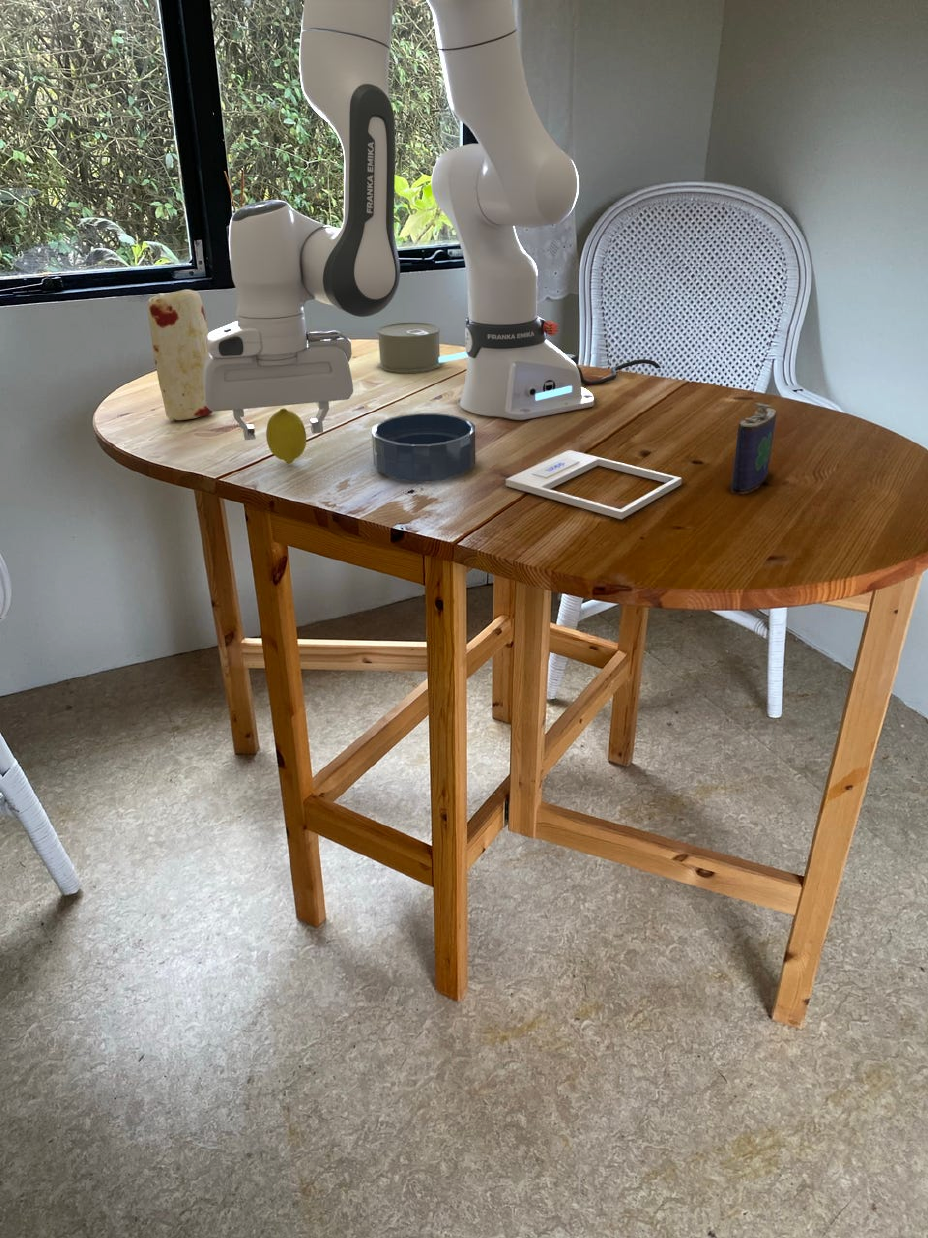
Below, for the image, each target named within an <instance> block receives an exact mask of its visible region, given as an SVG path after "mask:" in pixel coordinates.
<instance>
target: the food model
mask: <svg viewBox="0 0 928 1238" xmlns="http://www.w3.org/2000/svg"><path fill="white" fill-rule="evenodd" d="M203 304H204V303H203V301H202V298H201V295H200V293H199V292H198V291H196V290H193V289H182V290H176V291H173V292H170V293H167V294H165V293H158V294H157V295H154V296H151V297H150V298H149V299H148V301H147V312H148V322H149V330H150V337H151V338H150V339H151V345H152V353H153V360H154V364H155V368H156V374H157V380H158V385H159V388H160V393H161V397H162V401H163V407H164V412H165V415H166V417H167V418H168V420H170V421H171V420H176V421H184V420H185V421H186V420H191V419H196V418H200V417H204V416H208V415H209V416H210V415H211V414H212V413H213V412H212V411H211V410H209V409H208V408H207V407H206V405H205V401H204V394H203V363H204V359H205V357H206V355H207V354H208V353H209V352H208V350H207V346H206V336H207V334H208V333H210V332H209V326H208V323H207V319H206V314H205V309H204V305H203Z"/></svg>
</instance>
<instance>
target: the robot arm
mask: <svg viewBox="0 0 928 1238" xmlns="http://www.w3.org/2000/svg"><path fill="white" fill-rule="evenodd" d="M303 1H304V2H303V10H302V17H301V28H300V39H299V55H298V57H299V61H298V63H299V74H300V76H299V77H300V86H301V90H302V92H303V94H304V96H305V98H306V100H307V102H308V103H309V105H310V106H311V108H312V109H313V110H314V111H315V112H316V113H317V115H319V117H320V118H322V119H323V120H324V121H326V122H327V123H328V124H329V125H330V127H331V128H332V129H333V131H334V132H335V133H336V135H337V137H338V139H339V141H340V144H341V147H342V151H343V157H344V179H343V180H344V183H343V184H344V185H343V186H344V187H343V188H344V189H343V191H344V192H343V195H344V196H343V200H344V201H343V222H342V226H341V228H340V227H338V226H337V227H336V226H331V225H329V224H326V223H322V222H320V221H317V220H315V219H312V218H311V217H308V216H306V215H304V214H302V213H301V212H299V211H297V210H296V209H294V208H293V207H292V206H290V204H289V203H288V202H287V201H284V200H280V199H279V200H278V199H270V200H264V201H256V202H253V203H252V202H251V203H250V204H246V205H244V206H241V207H239V209H237V210H236V211H235V212H233V214H232V216H231V219H230V223H229V235H228V241H229V242H228V245H229V246H228V247H229V260H230V271H231V279H232V282H233V285H234V287H235V289H236V295H237V304H236V310H235V311H236V319H237V320H236V321H233V322H232V323H229V324H227V325H224V326H222V327H219V328H216V329H214V330H212V331H210V332H209V333H208V334H207V336H206V346H207V350H208V352H209V353H208V354H207V355H206V357H205V359H204V363H203V394H204V401H205V405H206V407H207V408H208V409H209V410H211V411H212V413H218V412H228V411H232V416H233V418H234V420H235V421H236V423H238V425H239V426H240V428H241V429H242V432H243V433H242V434H243V439H244V441H255V440H256V439H257V437H256V434H255V433H256V431H255V426H254V424H252V423H251V424H248V423H246V421H245V420H244V417H245V411H244V410H249V409H250V410H251V409H260V408H273V407H282V406H294V405H303V404H314V403H316V406H317V407H318V412H317V413H316V415H315V417H314V418H310V419H309V423H310V431H311V433H312V434H314V435H315V434H324V425H323V424H324V423H323V422H324V419H325V418H326V416H327V414H328V413H329V410H330V402H336V401H346V400H347V401H348V400H349V399H350V398H351V397H352V395H353V394H354V385H353V377H352V372H351V368H350V363H349V362H350V361H351V358H352V354H353V353H352V343H351V340H350V338H349V337H348V336H347V335H346V334H344V333H340V331H339V330H329V331H312V332H311V331H310V332H309V331H308V332H307V324H306V313H305V304H306V302H307V301H311V300H315V301H318V302H320V303H322V304H325V305H330V306H332V307H335V308H338V309H339V310H342V311H343V312H345V313H347V314H349V315H352V316H355V317H358V318H359V317H360V318H365V317H371V316H374V315H376V314H378V313H380V312H381V311H382V310H384V309H385V308H386V307H387V306H388V305H389V304H390V303H391V301H392V300H393V298H394V296H395V295H396V292H397V290H398V287H399V284H400V279H401V263H400V256H399V252H398V248H397V247H398V246H397V242H396V235H395V234H396V233H395V190H396V189H395V185H396V181H395V180H396V123H395V115H394V110H393V106H392V103H391V98H390V87H389V85H390V84H389V72H390V56H391V46H392V35H393V33H392V32H393V15H394V12H395V9H396V6H397V4H398V2H399V0H303ZM426 2H427V4H428V6H429V7H430V10H431V13H432V16H433V17H432V18H433V25H434V34H435V38H436V44H437V45H436V46H437V49H438V54H439V55H438V56H439V60H440V65H441V71H442V75H443V79H444V84H445V90H446V96H447V100H448V104H449V107H450V109H451V111H452V113H453V114H454V115H455V117H456V118H457V119H458V120H460V121H461V122H462V124H464V125H465V126H466V127H467V128H468V129H469V130H470V132H471V133H472V134H473V136H474V137H475V140H476V142H477V143H468V144H464V145H461V146H457V147H453V148H451V149H448V150H446V151H445V152H443V153H442V154H441V155H440V157H438V159H437V161H436V162H435V164H434V167H433V170H432V175H431V192H432V196H433V199H434V201H435V203H436V205H437V207H438V208H439V209H440V210H441V211H442V213H443V214H444V215H445V217H447V219H448V220H449V222H450V224H451V226H452V228H453V230H454V233H455V234H456V238H457V240H458V243H459V246H460V249H461V253H462V256H463V260H464V265H465V272H466V290H467V317H466V318H465V330H464V343H465V344H464V347H465V351H462V352H458V353H452V354H447V355H442V356H440V357H439V363H440V364H441V363H445V362H451V361H456V360H461V359H465V358H466V359H467V360H466V368H465V369H466V370H465V377H464V385H463V389H462V394H461V397H460V400H459V406H460V408H461V409H463V410H464V411H467V412H469V413H472V414H476V415H481V416H488V417H499V418H505V419H509V420H514V421H524V420H529V419H535V418H540V417H545V416H550V415H556V414H561V413H566V412H572V411H577V410H582V409H587V408H591V407H594V405H595V397H594V395H593V393H592V392H590V391H589V390H588V389H586V388H584V387H583V386H582V385H585V386H598V385H603V384H606V383H608V382H611V381H613V380H616V379H617V375H618V374H617V371H620V370H623V369H626V368H628V367H632V366H635V365H642V364H644V365H645V364H646V365H650V366H653V368H655V369H661V368H662V367H661V365H660V364H659V363H658V362H656V361H655V360H652V359H648V358H641V359H639V358H638V359H635V360H630V361H627V362H624V363H622V364H618V365H615V366H613V367H612V368H611V371H610V373H611V375H609V376H606V377H603V378H601V379H597V380H587V379H585V378H584V375H583V371H582V369H581V367H580V366H579V363H578V362H579V361H578V360H579V356H578V355H576V354H570V353H564V352H563V351H562V350H561V349H559V348H558V347H556V346H555V345H554V344H553V343H552V342H550V341H549V340H548V337H547V336H552V337H553V336H555V335H557V333H558V332H559V325H558V324H557V323H556V322H553V321H552V320H545V319H544V318H541V317H540V316H538V278H539V277H538V276H539V273H538V268H537V264H536V262H535V260H533V258H532V257H531V256H530V255H529V254H528V253H527V252H526V250H525V249H524V248H523V247H522V245H521V243H520V241H519V238H518V235H517V231H516V228H515V227H518V228H527V229H534V228H540V227H541V228H542V227H547V226H552V225H557V224H560V223H561V222H563V221H565V220H566V219H567V218H568V217H569V215H570V214H571V212H572V211H573V209H574V208H575V205H576V202H577V199H578V197H579V190H580V189H579V188H580V180H579V174H578V170H577V168H576V164H575V163H574V161H573V159H572V158H571V156H569V155H568V153H566V152H564V150H562V149H561V148H560V147H559V146H558V145H557V144H556V142H554V140H553V139H552V137H551V136H550V135H549V133H548V131H547V130H546V128H545V127H544V125H543V123H542V121H541V119H540V117H539V115H538V113H537V111H536V108H535V106H534V104H533V100H532V98H531V95H530V93H529V88H528V85H527V80H526V74H525V70H524V64H523V58H522V53H521V52H522V51H521V47H520V39H519V33H518V27H517V20H516V15H515V10H514V9H515V8H514V5H513V1H512V0H426Z"/></svg>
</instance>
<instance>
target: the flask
mask: <svg viewBox="0 0 928 1238" xmlns="http://www.w3.org/2000/svg"><path fill="white" fill-rule="evenodd" d="M754 405H755V406H756V407H757V409H756V410H755V411H754V414H753V416H752V415H751V416H750V417H747V416H746V417H745V418H744V419H743V420H741V421H739V423H738V427H737V436H736V442H735V443H736V445H735V454H734V460H733V461H734V462H733V471H732V479H731V486H730V491H731V492H732V493H734V494H739V495H741V494H742V495H745V494H748V493H751V492H753V491H754V490H757V489H758V488H760V486H762V484H763V483H764V482H765V480H767V478H768V475H769V466H770V460H771V452H772V447H773V440H774V433H775V427H776V426H775V425H776V422H777V421H776V420H777V410H775V409H773V408H771V407H772V404H770V405H769V404H764V403H761V402H756V403H754Z"/></svg>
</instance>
